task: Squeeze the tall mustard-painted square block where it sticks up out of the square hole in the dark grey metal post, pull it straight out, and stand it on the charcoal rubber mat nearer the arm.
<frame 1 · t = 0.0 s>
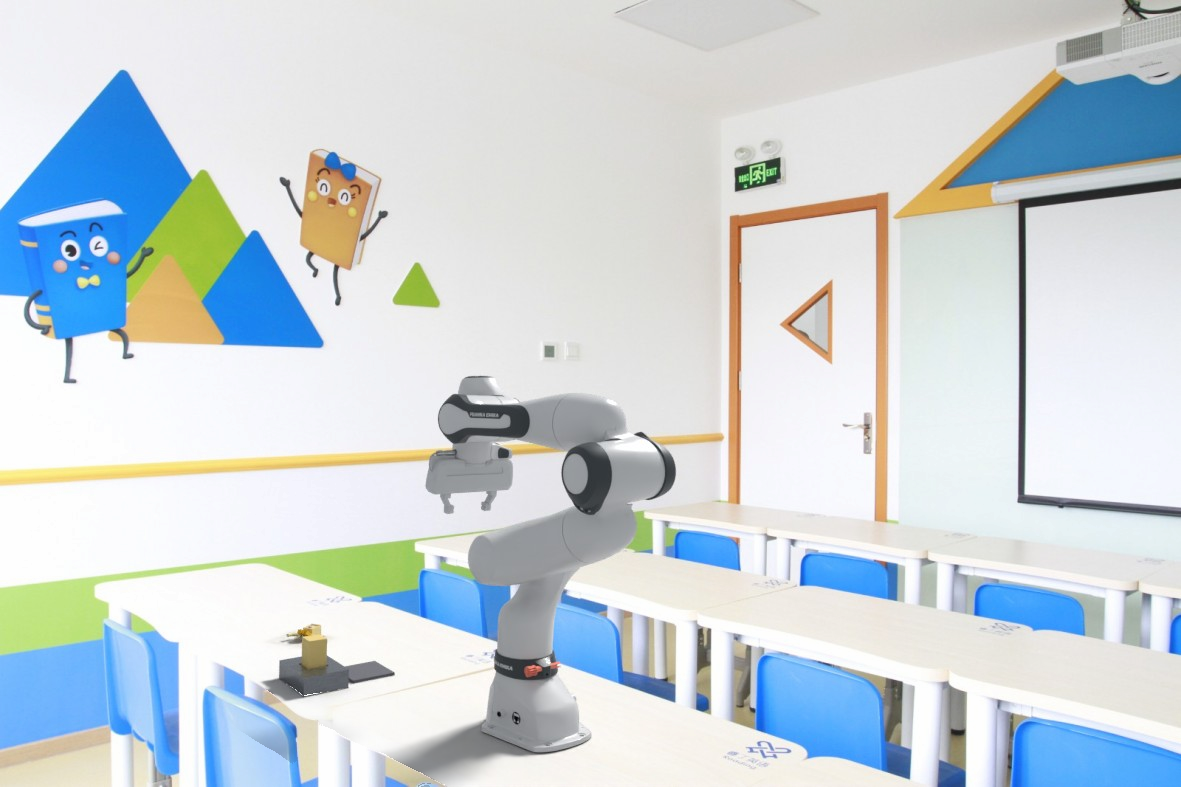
hand: (467, 511, 197), 39 cm above the table, tool pointing down, fingers open, 8 cm apart
square block: (313, 683, 198), resting in socket post
socket post: (313, 682, 198), on the table
rubber mat: (364, 672, 205), on the table
character toy: (301, 642, 229), on the table
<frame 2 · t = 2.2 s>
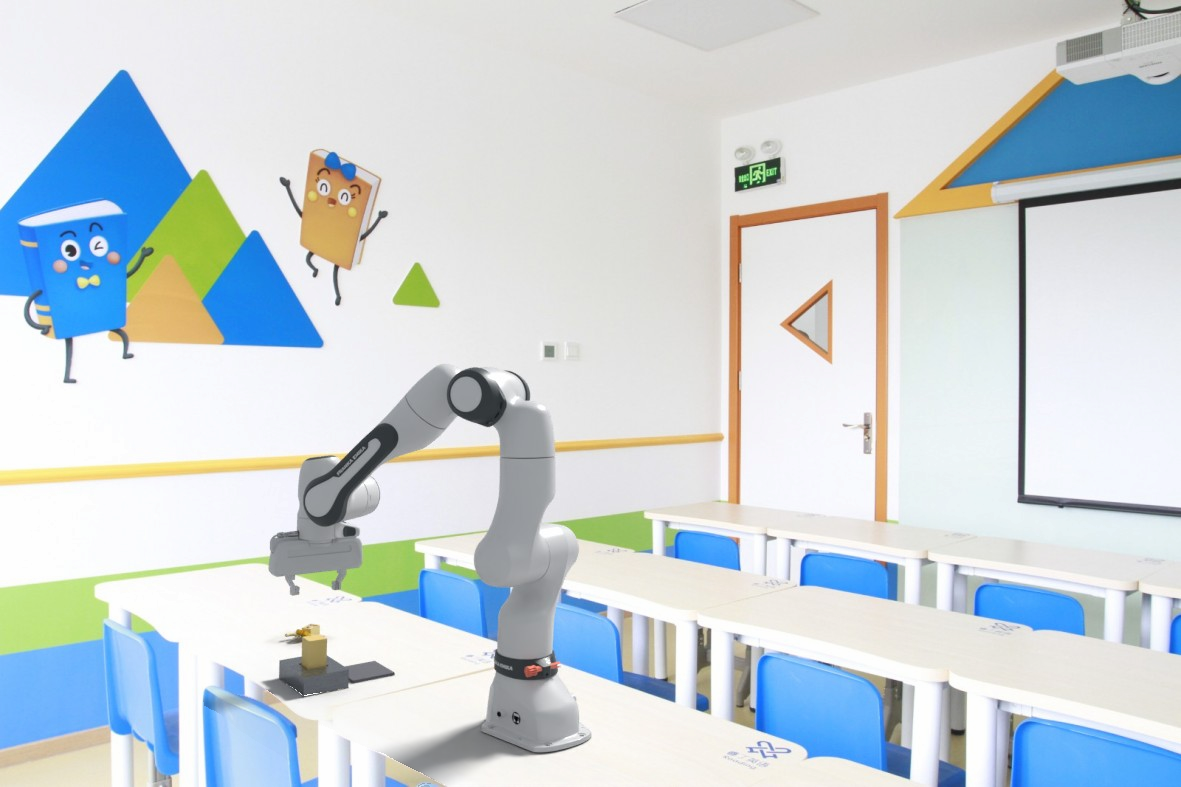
hand: (315, 592, 197), 20 cm above the table, tool pointing down, fingers open, 8 cm apart
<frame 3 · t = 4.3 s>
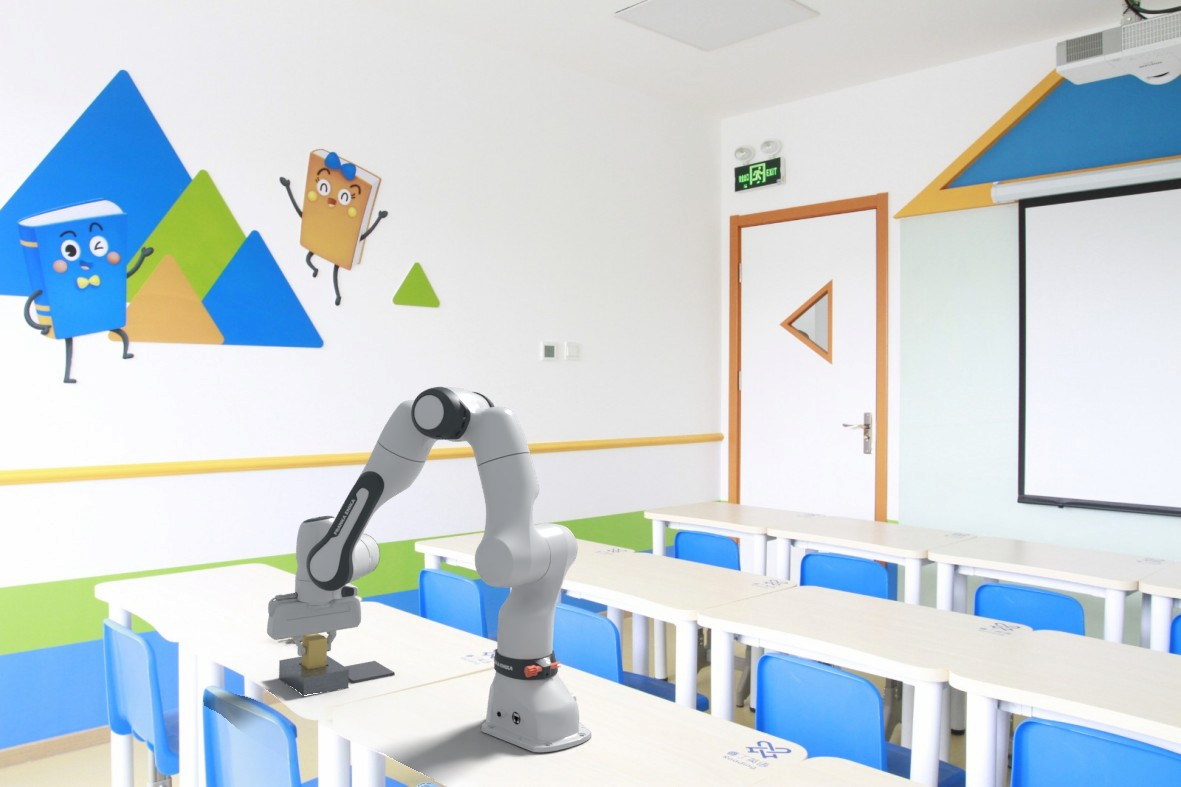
hand: (314, 653, 197), 7 cm above the table, tool pointing down, fingers closed on square block, 4 cm apart
square block: (313, 683, 198), resting in socket post, touching gripper
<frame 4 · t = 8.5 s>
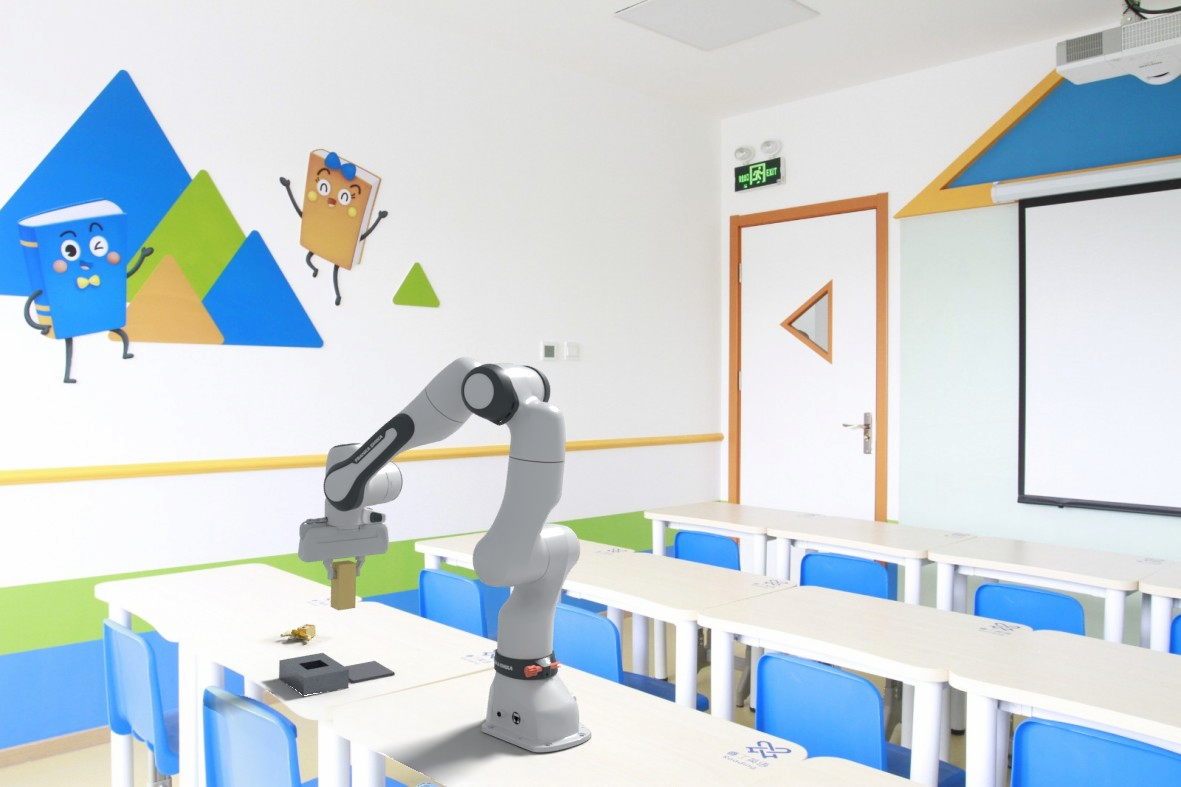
hand: (343, 577, 201), 23 cm above the table, tool pointing down, fingers closed on square block, 4 cm apart
square block: (342, 607, 201), point 16 cm above the table, touching gripper
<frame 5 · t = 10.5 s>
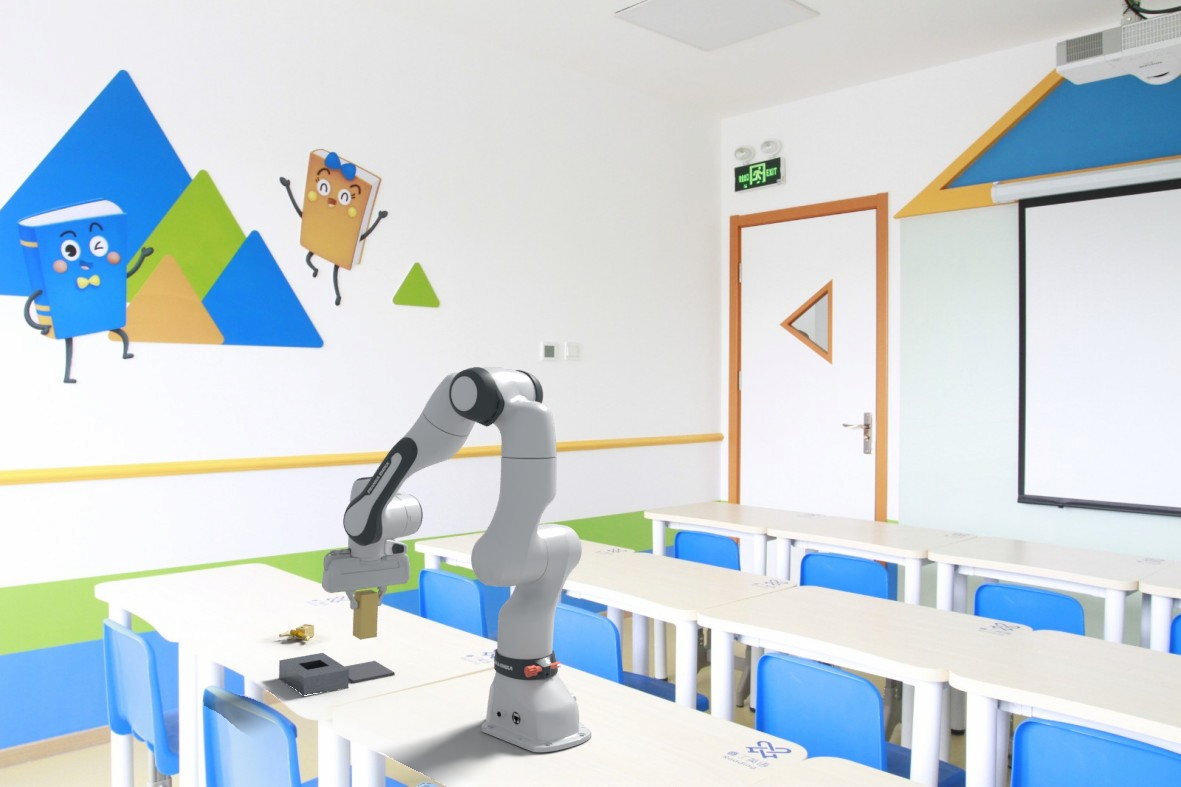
hand: (365, 607, 205), 15 cm above the table, tool pointing down, fingers closed on square block, 4 cm apart
square block: (364, 636, 205), point 8 cm above the table, touching gripper
when the fingers open (8 cm above the table, at t = 12.5 s): square block stays where it is, resting on rubber mat.
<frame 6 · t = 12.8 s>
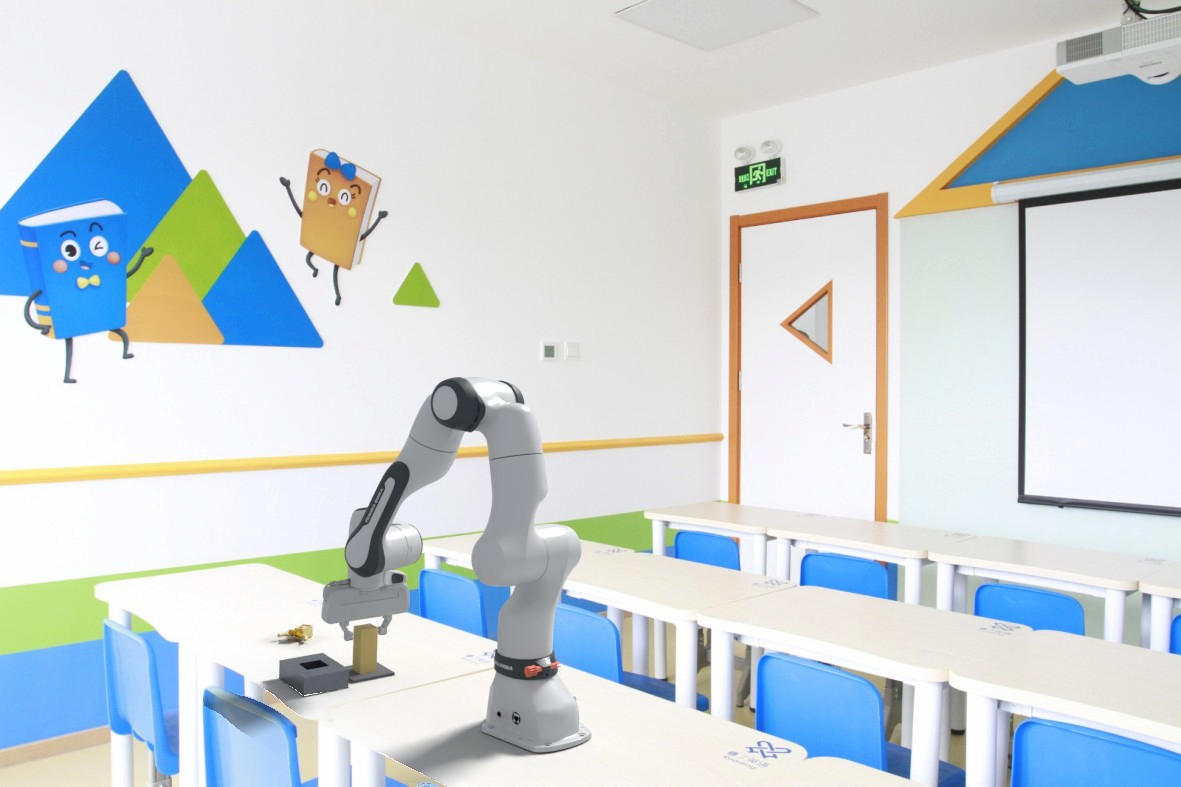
hand: (365, 637, 205), 8 cm above the table, tool pointing down, fingers open, 7 cm apart
square block: (364, 670, 205), point 1 cm above the table, touching rubber mat
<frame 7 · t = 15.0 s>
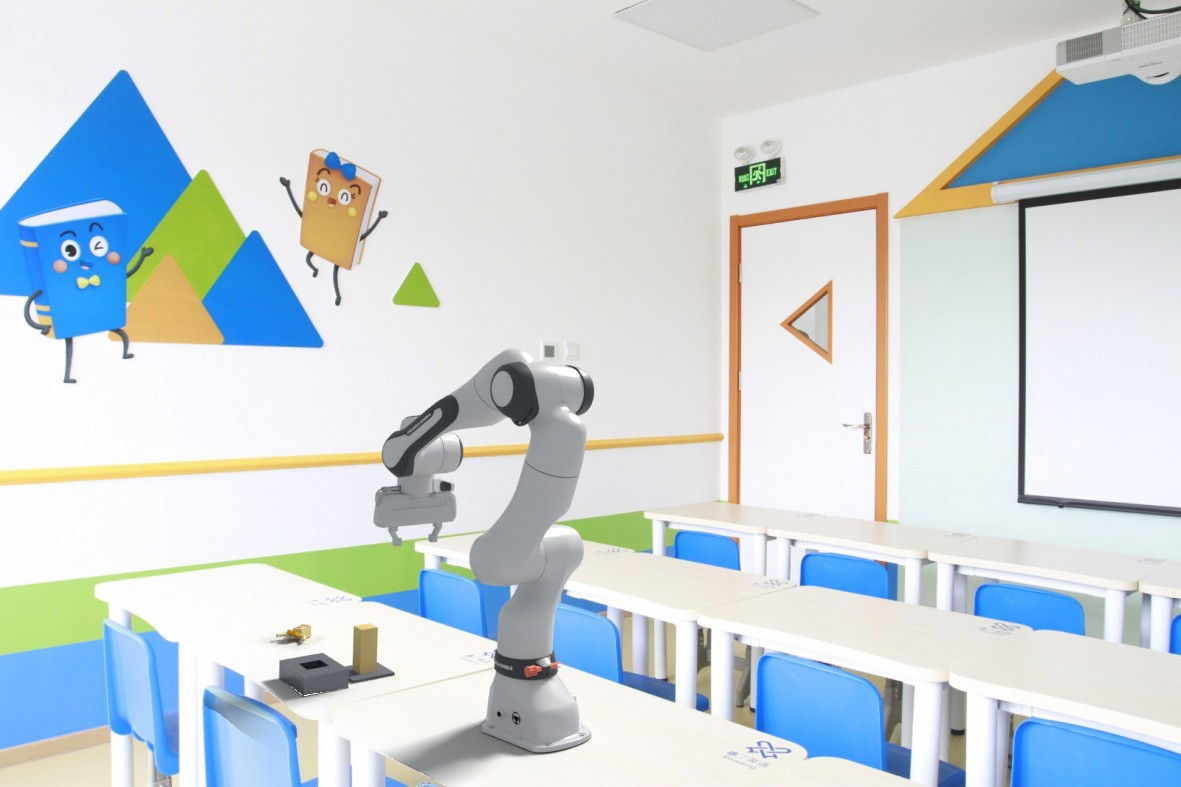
hand: (415, 543, 210), 29 cm above the table, tool pointing down, fingers open, 8 cm apart
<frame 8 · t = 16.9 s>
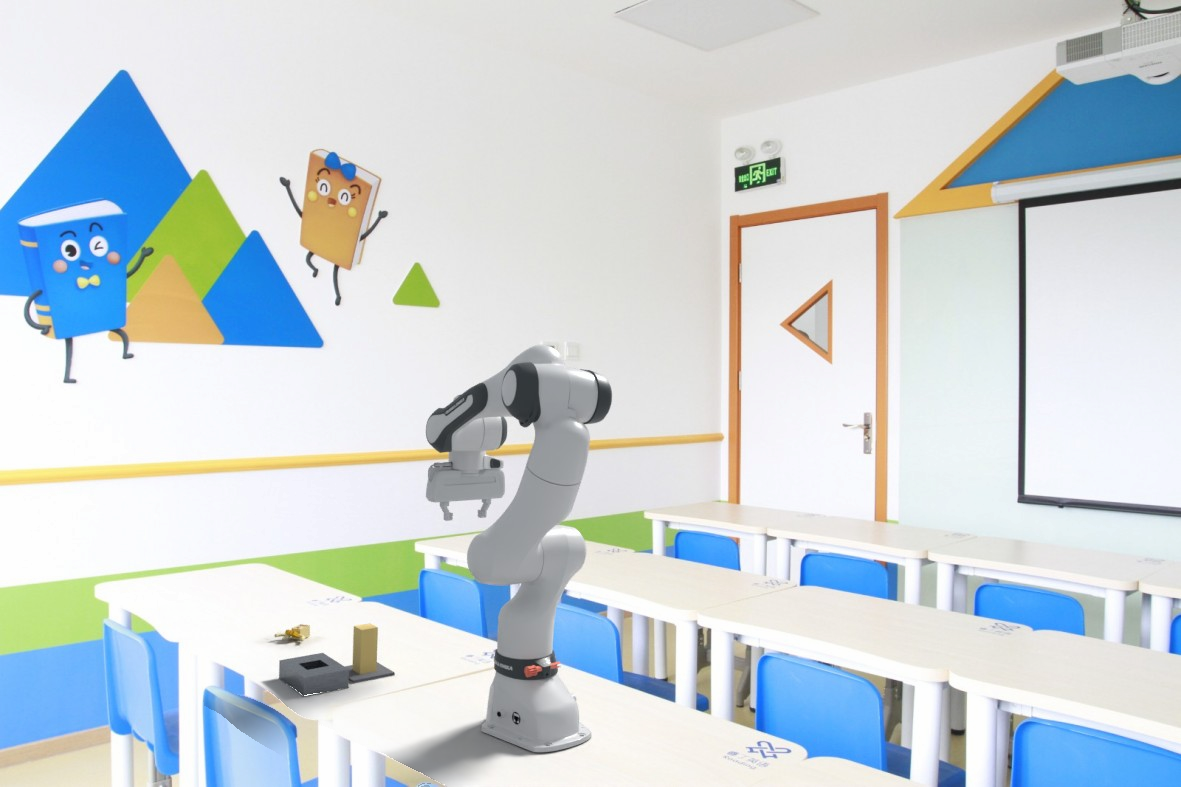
hand: (465, 518, 216), 34 cm above the table, tool pointing down, fingers open, 8 cm apart
at the end: square block inside the target area on the rubber mat (0.0 cm from its centre), point 0.6 cm above the rubber mat's base; square block tilted 0° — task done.
